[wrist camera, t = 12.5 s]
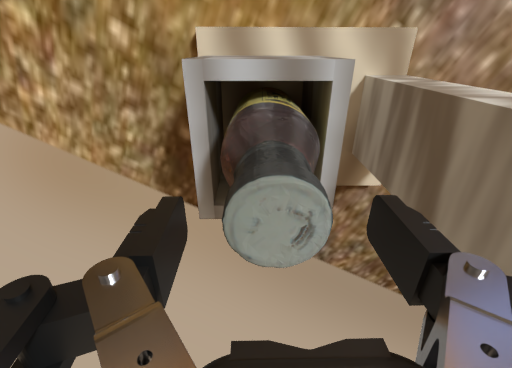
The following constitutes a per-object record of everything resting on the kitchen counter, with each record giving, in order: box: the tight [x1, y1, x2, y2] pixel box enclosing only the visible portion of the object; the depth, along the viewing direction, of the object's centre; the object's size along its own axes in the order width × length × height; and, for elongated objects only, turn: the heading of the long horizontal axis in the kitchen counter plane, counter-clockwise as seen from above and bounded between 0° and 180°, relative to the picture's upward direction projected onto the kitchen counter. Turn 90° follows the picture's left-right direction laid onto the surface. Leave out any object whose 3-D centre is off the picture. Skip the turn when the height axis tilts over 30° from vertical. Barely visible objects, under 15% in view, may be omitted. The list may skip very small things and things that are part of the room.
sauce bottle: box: [220, 87, 333, 268], centre depth 18 cm, size 7×6×20 cm
